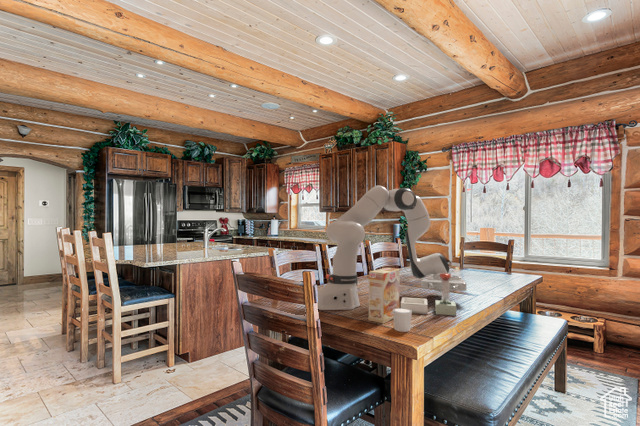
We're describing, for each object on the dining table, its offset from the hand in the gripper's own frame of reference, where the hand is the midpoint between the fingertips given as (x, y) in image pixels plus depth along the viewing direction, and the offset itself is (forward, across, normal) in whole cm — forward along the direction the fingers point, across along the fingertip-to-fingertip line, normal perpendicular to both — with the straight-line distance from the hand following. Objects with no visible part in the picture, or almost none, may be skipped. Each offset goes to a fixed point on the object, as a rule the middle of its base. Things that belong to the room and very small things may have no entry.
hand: (444, 287), depth 161 cm
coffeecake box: (+24, -24, +9) cm, 35 cm away
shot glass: (+37, -16, +9) cm, 41 cm away
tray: (+8, -13, +9) cm, 18 cm away
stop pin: (+8, 0, +9) cm, 12 cm away
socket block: (+8, 0, +9) cm, 12 cm away
